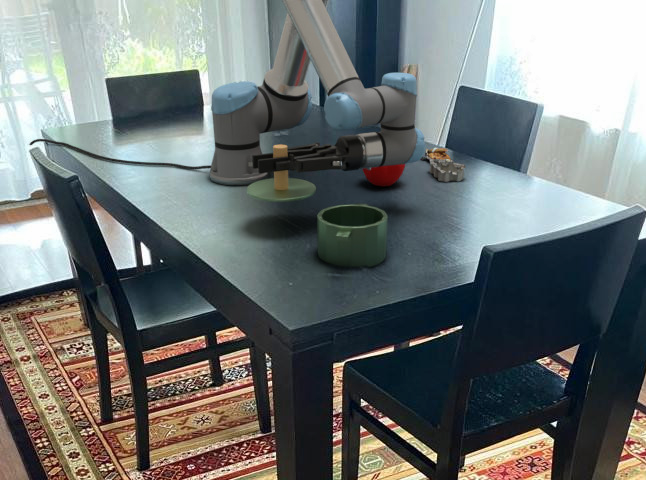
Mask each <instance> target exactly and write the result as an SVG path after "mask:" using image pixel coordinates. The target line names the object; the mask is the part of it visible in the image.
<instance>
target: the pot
mask: <svg viewBox="0 0 646 480" xmlns="http://www.w3.org/2000/svg"><path fill="white" fill-rule="evenodd" d="M388 217H389V216H388V214H387V213H386V211H385V210H383V209H381V208H379V207H376V206H373V205H372V206H371V205H368V204H367V203H357V202H356V203H349V204H338V205H333V206H332V205H331V206H328V207H326V208H324V209H321V210H320V211H319V212H318V214H317V215H316V220H317V221H316V225H317V227H316V231H317V234H316V235H317V237H316V239H317V240H316V241H317V255H318V258H319V259H321V260H322V261H324V262H325V263H328V264H331V265H334V266H338V267H349V268H353V267H355V268H356V267H367V269H369V268H372V267H376V266H377V265H380V264H382V263H383V262H384V261H385V260H386V257H387V244H388V243H387V242H388Z"/></svg>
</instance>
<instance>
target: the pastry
mask: <svg viewBox="0 0 646 480" xmlns="http://www.w3.org/2000/svg"><path fill="white" fill-rule="evenodd" d="M447 152H449V150H448V148H445V147H440V148H438V147H434V148H431V149H429V148H425V152H424V156H423V157H422V158H421V159H420V160H421V161H423V160H425V159H427V160H430V159H435V160H436V159H442V160H445V159H446V160H447V161H450V160H452V159H451V157H450V155H449V154H448V153H447Z"/></svg>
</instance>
